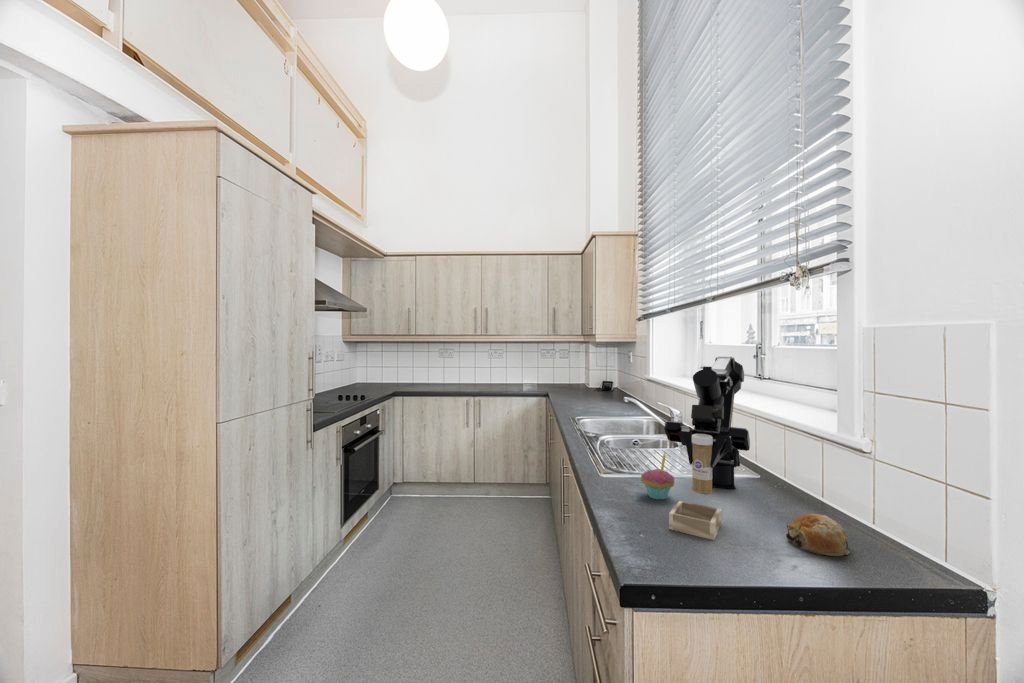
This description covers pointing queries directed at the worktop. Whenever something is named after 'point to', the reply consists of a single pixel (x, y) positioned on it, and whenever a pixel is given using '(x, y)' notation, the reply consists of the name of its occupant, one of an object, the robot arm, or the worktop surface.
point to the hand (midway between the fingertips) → (700, 465)
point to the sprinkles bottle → (702, 463)
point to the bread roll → (818, 535)
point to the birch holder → (695, 519)
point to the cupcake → (658, 482)
